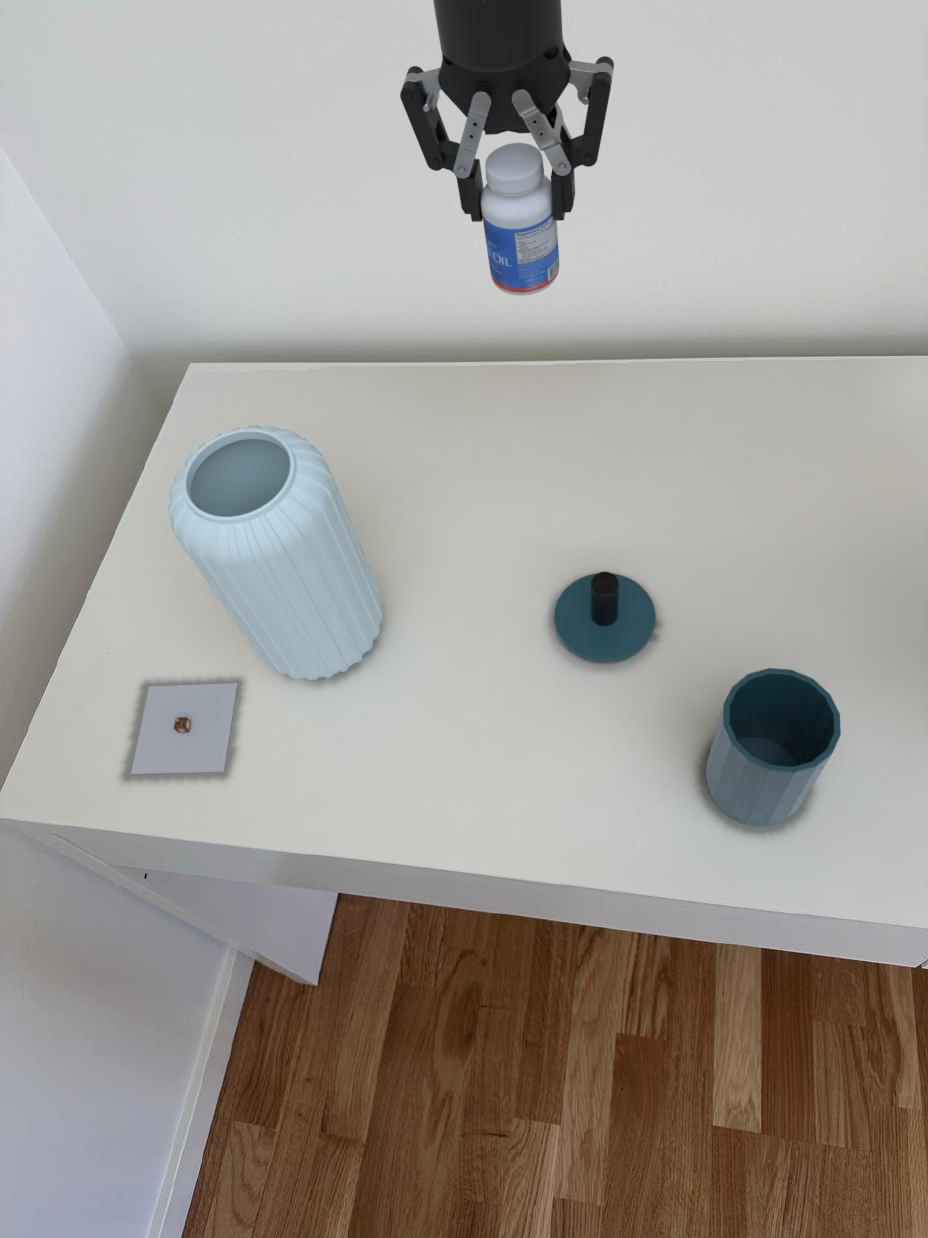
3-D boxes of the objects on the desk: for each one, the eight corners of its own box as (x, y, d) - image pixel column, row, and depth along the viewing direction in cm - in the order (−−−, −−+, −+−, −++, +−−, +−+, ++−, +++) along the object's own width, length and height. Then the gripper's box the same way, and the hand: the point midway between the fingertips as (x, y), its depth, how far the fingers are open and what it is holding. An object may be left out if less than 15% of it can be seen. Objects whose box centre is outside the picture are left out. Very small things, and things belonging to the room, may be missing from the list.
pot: (804, 739, 70) (838, 672, 60) (806, 831, 66) (842, 777, 56) (706, 730, 71) (724, 664, 61) (704, 820, 68) (722, 766, 58)
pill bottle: (480, 266, 73) (462, 152, 64) (542, 241, 73) (531, 125, 65) (508, 308, 70) (492, 194, 62) (572, 281, 70) (565, 165, 62)
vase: (321, 717, 76) (227, 575, 57) (234, 641, 81) (120, 486, 62) (416, 622, 79) (357, 458, 60) (327, 555, 84) (246, 382, 65)
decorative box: (223, 771, 75) (215, 763, 73) (130, 774, 76) (120, 766, 74) (237, 683, 79) (230, 673, 77) (149, 686, 80) (139, 677, 78)
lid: (657, 583, 78) (661, 542, 73) (651, 670, 74) (656, 633, 69) (560, 577, 80) (557, 536, 74) (549, 662, 76) (546, 625, 70)
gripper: (358, -1, 52) (415, 249, 67) (613, -19, 49) (614, 247, 64) (385, -68, 56) (433, 183, 70) (624, -89, 53) (623, 178, 67)
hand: (519, 213), depth 67 cm, fingers closed on pill bottle, 5 cm apart
